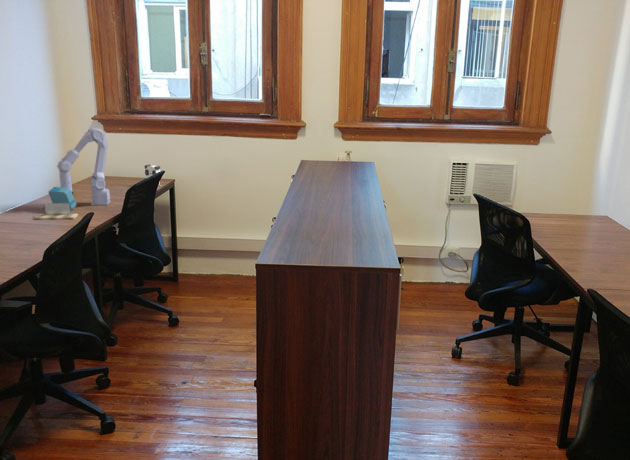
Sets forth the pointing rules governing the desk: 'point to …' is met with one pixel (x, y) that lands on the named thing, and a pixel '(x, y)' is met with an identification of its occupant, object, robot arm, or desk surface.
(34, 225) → the desk surface
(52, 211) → the bookend
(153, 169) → the panda figurine
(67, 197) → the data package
